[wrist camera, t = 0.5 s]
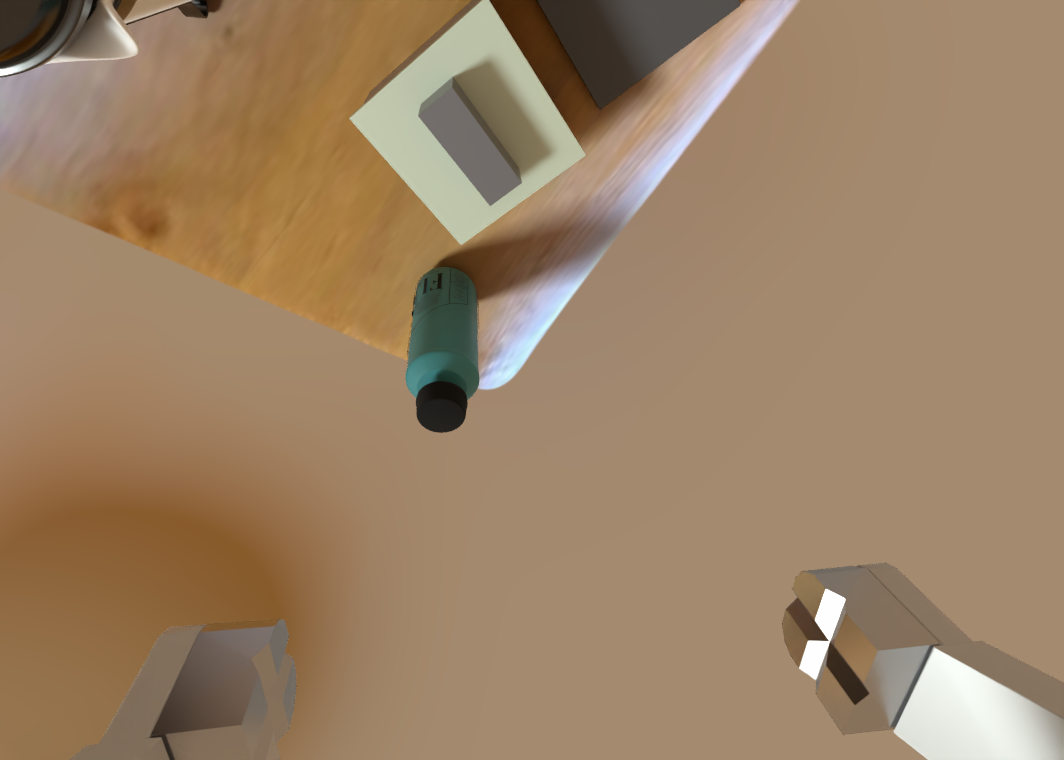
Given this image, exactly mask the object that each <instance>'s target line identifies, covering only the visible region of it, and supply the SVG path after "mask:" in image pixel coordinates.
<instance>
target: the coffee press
mask: <svg viewBox="0 0 1064 760" xmlns="http://www.w3.org/2000/svg"><path fill="white" fill-rule="evenodd" d="M177 7H178V8H179V9H180V10H181V12H182V13H183V14H184V15H185V16H186V17H196V18H207V17H208V7H207V2H206V0H0V77H7V76H12V75H16V74H20V73H23V72H26V71H29V70H31V69H34V68H37V67H39V66H41V65H44V64H50V63H58V62H69V61H86V60H111V59H122V58H129V57H132V56H135V55H137V54H138V53H139V50H140V48H139V44H138V42H137V40H136V38H135V36H134V35H133V33H132V32H131V30H130V29H129V28H128V26H127V25H128V24H131V23H134V22H137V21H139V20H142V19H145V18H148V17H151V16H154V15H157V14H159V13H162V12H165V11H168V10H171V9H174V8H177Z"/></svg>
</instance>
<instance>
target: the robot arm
mask: <svg viewBox="0 0 1064 760" xmlns="http://www.w3.org/2000/svg"><path fill="white" fill-rule="evenodd" d="M792 590H793V591H794V593H795V595H796V596H797V599H795V600H794V602H792V603H791V604H790V605H789V606H788V607H787V608H786V610H785V614H784V618H783V622H782V627H783V634H784V640H785V643H786V646H787V648H788V651H789V653H790V655H791V657H792V658H793V660H794V661H795V663H796V665H797V666H798V668H799V669H800V670H802V671H803V672H805V673H806V674H808V675H809V676H811V677H812V678H814V679H815V680H816V695H817V697H818V698H819V699H820V701H821V703H822V704H823V705H824V707H825V709H826V710H827V711H828V713H829V715H830V716H831V718H832V719H833V721H834V722H835V724H836V725H837V727H838V728H839V730H840V731H841V733H842V734H843V735H844V734H854V733H862V732H871V731H882V730H891V729H895V730H894V733H895V734H896V735H897V736H899V737H900V738H901V739H902V740H904V741H905V742H906V743H907V744H909V745H910V746H911V747H913V748H914V749H915V750H916V751H918V752H919V753H920V754H921V755H923V756H924V757H925V758H927V759H928V760H1064V683H1063V682H1062V681H1060V680H1058V679H1056V678H1054V677H1052V676H1050V675H1048V674H1046V673H1044V672H1042V671H1040V670H1038V669H1036V668H1034V667H1032V666H1030V665H1028V664H1026V663H1024V662H1022V661H1020V660H1018V659H1016V658H1014V657H1012V656H1010V655H1009V654H1007V653H1005V652H1003V651H1001V650H999V649H997V648H995V647H993V646H991V645H989V644H987V643H985V642H983V641H974V642H973V641H972V640H971V639H970V638H969V637H968V636H967V635H966V634H964V632H963V631H961V630H960V629H959V628H958V627H957V626H956V625H955V624H954V623H953V622H952V621H951V620H950V619H949V618H948V617H947V616H946V615H945V614H944V613H943V612H942V611H941V610H940V609H939V608H938V607H937V606H936V605H935V604H933V603H932V602H931V601H930V600H929V599H928V598H927V597H926V596H925V595H924V594H923V593H922V592H921V591H920V590H919V589H918V588H917V587H916V586H915V585H914V584H913V583H912V582H910V580H909V579H908V578H907V577H906V576H904V575H903V574H902V573H901V572H900V571H899V570H898V569H897V568H896V567H894V566H892V565H890V564H888V563H879V564H869V565H858V566H847V567H837V568H829V569H828V568H827V569H818V570H808V571H802V572H801V573H800V574H799V575H798V576H796V578H795V581H794V584H793V587H792ZM288 638H289V635H288V631H287V627H286V624H285V621H284V620H281V619H276V620H259V621H244V622H230V623H214V624H207V625H193V626H178V627H169V628H168V629H167V630H166V631H165V632H163V634H161V635H160V636H159V637H158V639H157V640H156V642H155V644H154V646H153V648H152V650H151V651H150V653H149V655H148V657H147V658H146V660H145V662H144V664H143V666H142V667H141V669H140V671H139V673H138V675H137V676H136V679H135V680H134V682H133V684H132V685H131V687H130V689H129V691H128V693H127V694H126V696H125V698H124V700H123V702H122V703H121V705H120V707H119V709H118V711H117V712H116V714H115V716H114V718H113V720H112V721H111V723H110V725H109V727H108V729H107V730H106V732H105V734H104V736H103V738H102V739H101V741H100V743H99V744H95V745H88V746H85V747H84V748H82V749H81V750H80V751H79V752H78V753H76V754H75V755H74V756H73V757H72V758H70V759H69V760H280V756H279V752H278V747H277V742H278V741H279V740H280V739H281V738H282V737H283V736H284V734H285V733H286V732H287V731H288V730H289V728H290V724H291V719H292V715H293V711H294V704H295V695H296V670H295V664H294V659H293V658H292V657H291V656H289V655H288V654H287V653H285V649H286V645H287V642H288Z"/></svg>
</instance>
